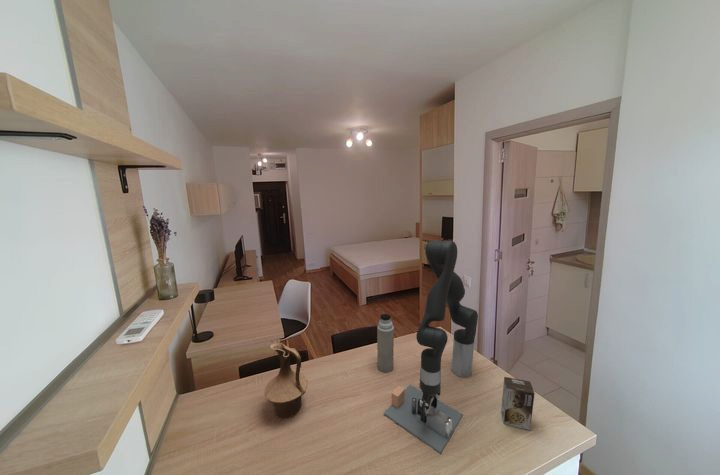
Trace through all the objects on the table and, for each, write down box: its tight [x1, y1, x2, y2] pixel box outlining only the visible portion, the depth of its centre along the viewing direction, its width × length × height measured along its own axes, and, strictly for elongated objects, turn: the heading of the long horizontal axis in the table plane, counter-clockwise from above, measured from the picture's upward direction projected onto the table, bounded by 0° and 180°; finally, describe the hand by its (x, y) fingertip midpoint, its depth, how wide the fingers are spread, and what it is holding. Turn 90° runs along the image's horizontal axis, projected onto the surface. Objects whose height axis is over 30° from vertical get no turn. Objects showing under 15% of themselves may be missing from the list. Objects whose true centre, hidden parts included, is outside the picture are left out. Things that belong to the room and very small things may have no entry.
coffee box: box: [500, 376, 535, 431], centre depth 101 cm, size 9×6×16 cm
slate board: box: [383, 384, 464, 455], centre depth 105 cm, size 20×24×1 cm
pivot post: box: [412, 397, 417, 414], centre depth 105 cm, size 2×2×6 cm
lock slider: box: [391, 385, 406, 408], centre depth 110 cm, size 3×5×6 cm, turn 138°
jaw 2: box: [425, 403, 453, 434], centre depth 100 cm, size 12×2×6 cm, turn 48°
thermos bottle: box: [376, 313, 395, 374], centre depth 130 cm, size 8×8×28 cm
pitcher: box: [264, 342, 309, 419], centre depth 107 cm, size 18×17×28 cm
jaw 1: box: [417, 408, 450, 438], centre depth 99 cm, size 12×2×6 cm, turn 49°
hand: (428, 413), depth 101 cm, fingers open, 8 cm apart
